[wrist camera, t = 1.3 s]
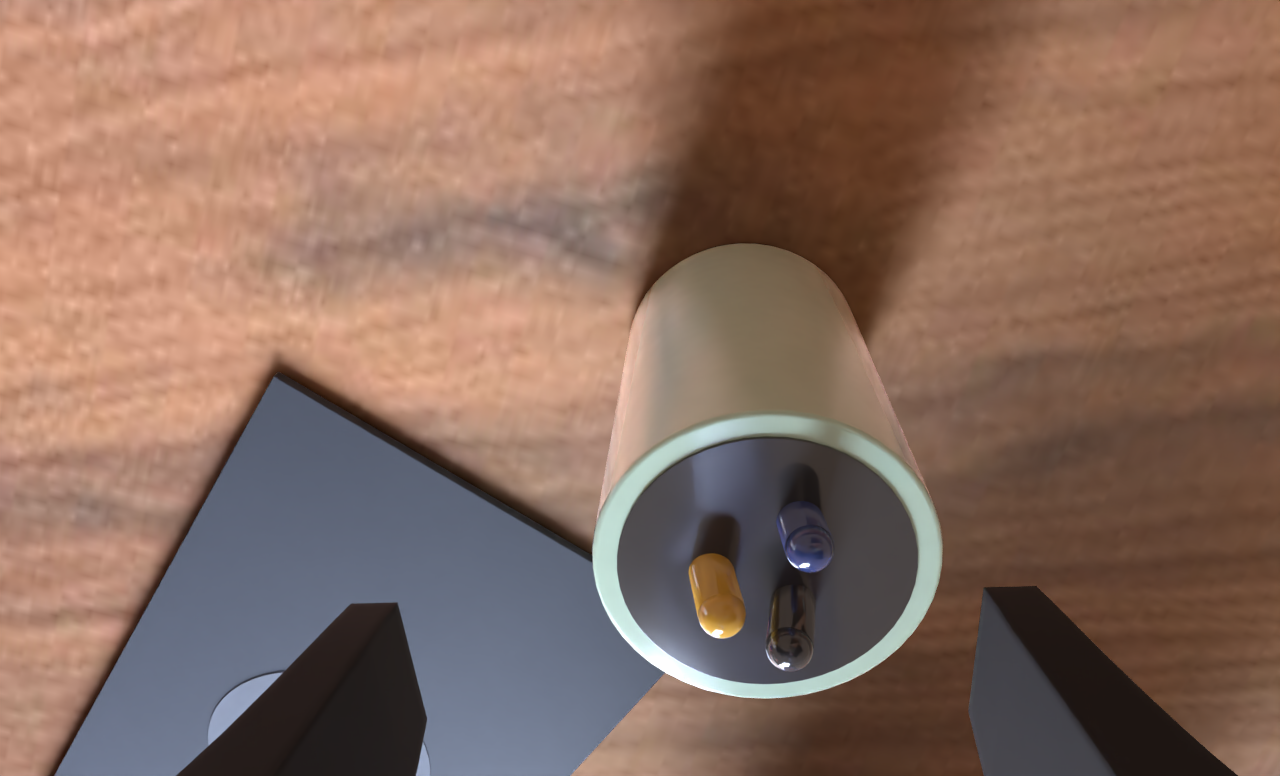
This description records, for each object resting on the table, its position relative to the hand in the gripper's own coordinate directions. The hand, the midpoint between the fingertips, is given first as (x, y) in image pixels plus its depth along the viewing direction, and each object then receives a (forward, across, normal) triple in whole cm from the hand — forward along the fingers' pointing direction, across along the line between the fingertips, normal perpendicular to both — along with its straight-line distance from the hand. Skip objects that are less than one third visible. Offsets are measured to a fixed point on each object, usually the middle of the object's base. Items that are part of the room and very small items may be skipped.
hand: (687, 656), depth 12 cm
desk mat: (+11, +12, +14) cm, 21 cm away
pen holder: (+11, -1, +1) cm, 11 cm away
